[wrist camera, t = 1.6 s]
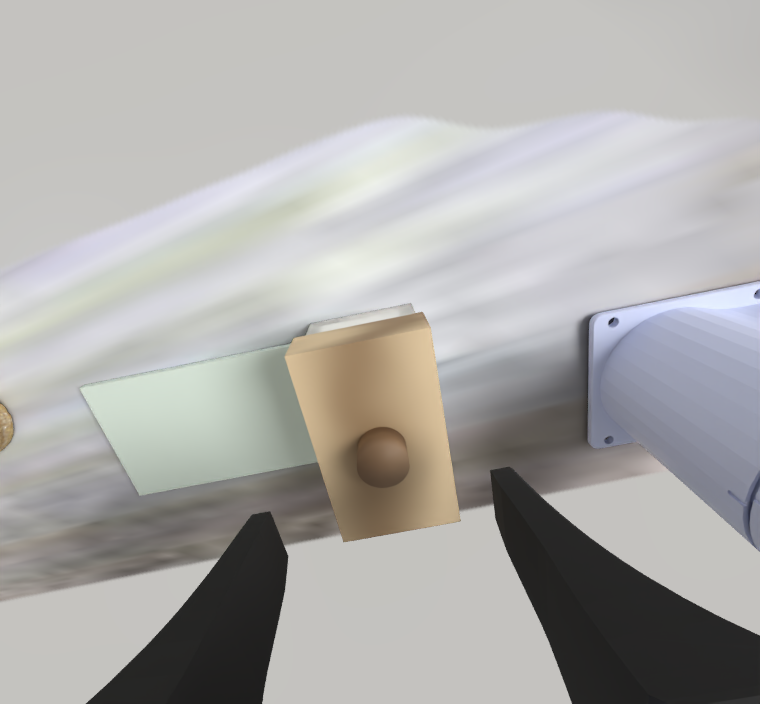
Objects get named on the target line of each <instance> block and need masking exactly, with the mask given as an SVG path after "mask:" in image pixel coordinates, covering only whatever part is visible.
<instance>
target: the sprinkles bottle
mask: <svg viewBox="0 0 760 704" xmlns="http://www.w3.org/2000/svg"><path fill="white" fill-rule="evenodd" d="M12 436H13V422H12V418H11V415H10V414H9V413H8V412H7V410H6V408H5V407H4V406H3V405H2V404H1V403H0V451H2V450H3V449H4V448H5V447H6V446H7V445H8V444H9V443H10V441H11V439H12Z"/></svg>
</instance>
